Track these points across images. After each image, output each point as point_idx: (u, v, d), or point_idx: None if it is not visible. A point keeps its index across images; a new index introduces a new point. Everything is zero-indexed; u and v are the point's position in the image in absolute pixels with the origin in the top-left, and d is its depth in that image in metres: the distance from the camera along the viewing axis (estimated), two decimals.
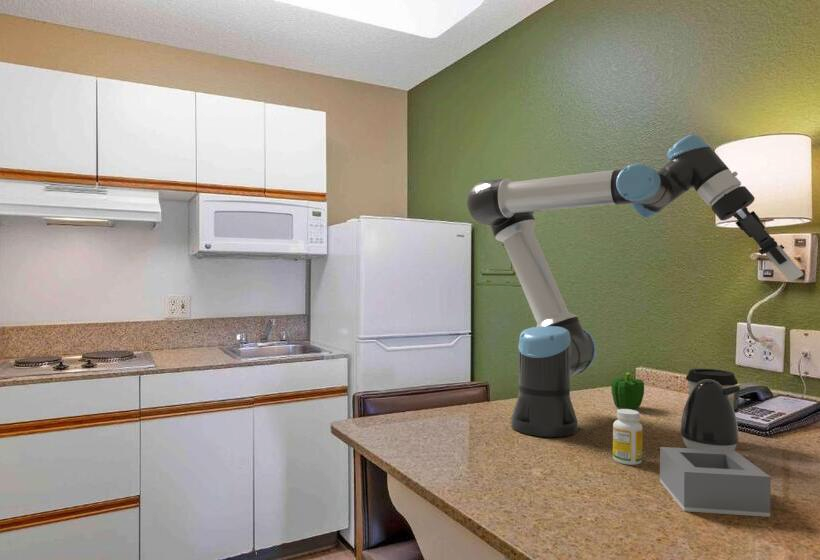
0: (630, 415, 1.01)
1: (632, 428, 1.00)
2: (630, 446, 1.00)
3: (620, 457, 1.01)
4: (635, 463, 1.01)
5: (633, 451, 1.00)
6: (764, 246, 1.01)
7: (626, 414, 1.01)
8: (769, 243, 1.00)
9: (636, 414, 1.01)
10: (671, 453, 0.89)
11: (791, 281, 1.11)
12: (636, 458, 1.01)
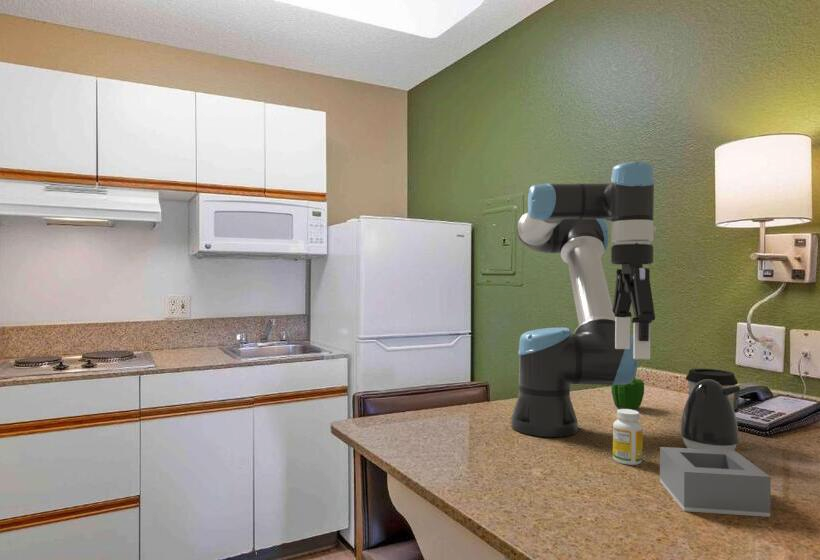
0: (630, 415, 1.01)
1: (632, 428, 1.00)
2: (630, 446, 1.00)
3: (620, 457, 1.01)
4: (635, 463, 1.01)
5: (633, 451, 1.00)
6: (643, 318, 0.93)
7: (626, 414, 1.01)
8: (649, 318, 0.93)
9: (636, 414, 1.01)
10: (671, 453, 0.89)
11: (617, 348, 1.09)
12: (636, 458, 1.01)
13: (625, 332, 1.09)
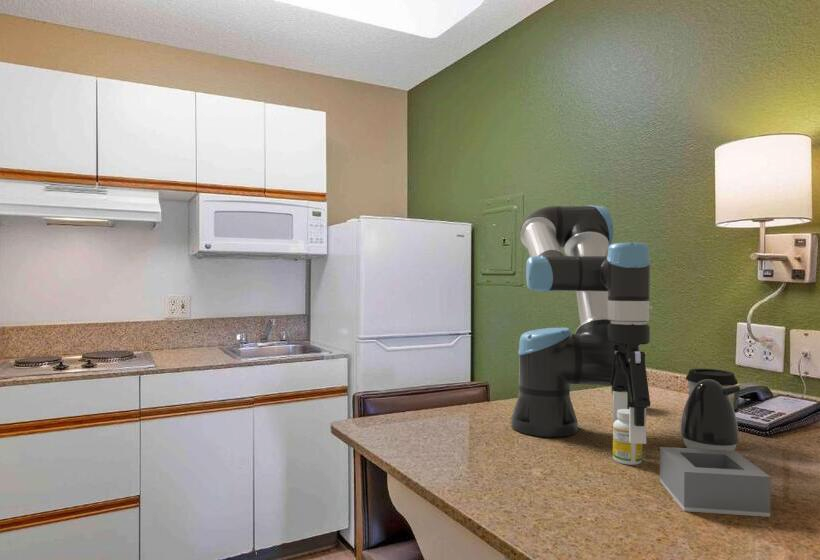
0: None
1: None
2: (630, 446, 1.00)
3: (620, 457, 1.01)
4: (635, 463, 1.01)
5: (633, 451, 1.00)
6: (638, 405, 0.93)
7: (626, 414, 1.01)
8: (644, 405, 0.93)
9: None
10: (671, 453, 0.89)
11: None
12: (636, 458, 1.01)
13: (622, 407, 1.09)
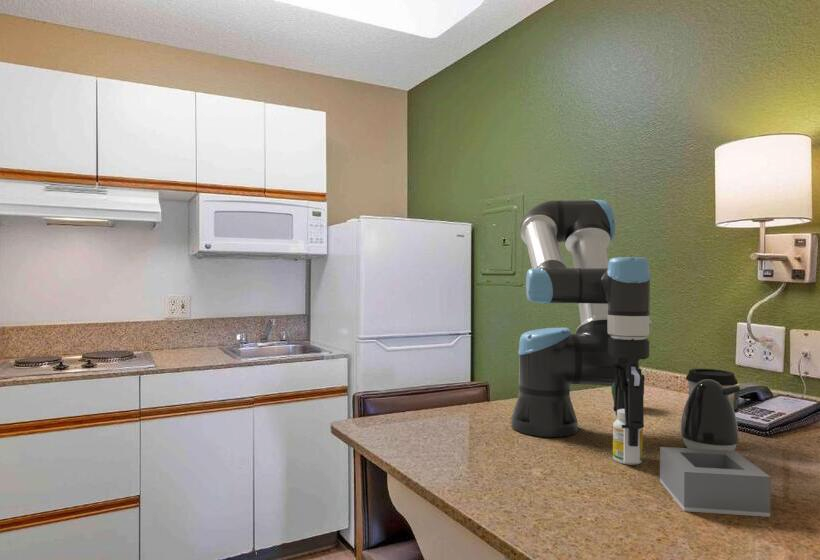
0: None
1: None
2: None
3: (620, 457, 1.01)
4: (635, 463, 1.01)
5: None
6: (632, 426, 0.97)
7: None
8: (637, 427, 0.97)
9: None
10: (671, 453, 0.89)
11: None
12: None
13: None
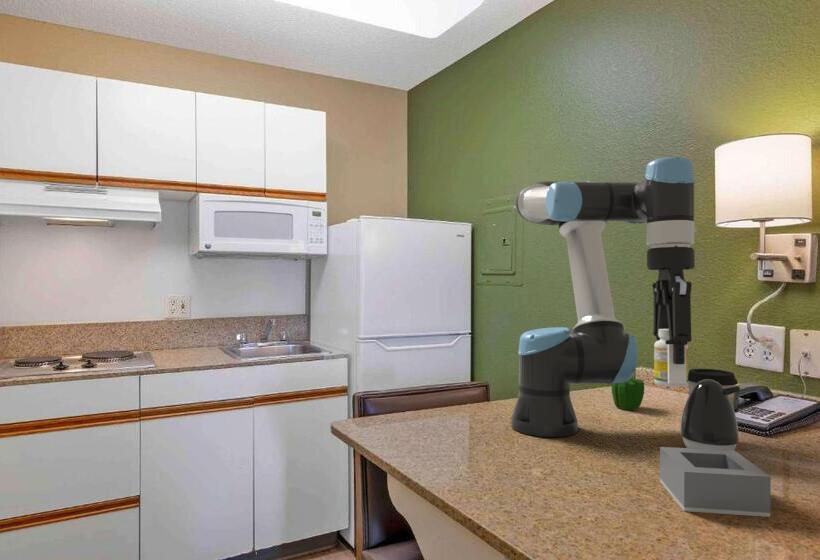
0: None
1: None
2: None
3: (663, 378, 0.91)
4: (681, 385, 0.90)
5: None
6: (678, 340, 0.87)
7: None
8: (684, 341, 0.87)
9: None
10: (671, 453, 0.89)
11: None
12: None
13: None
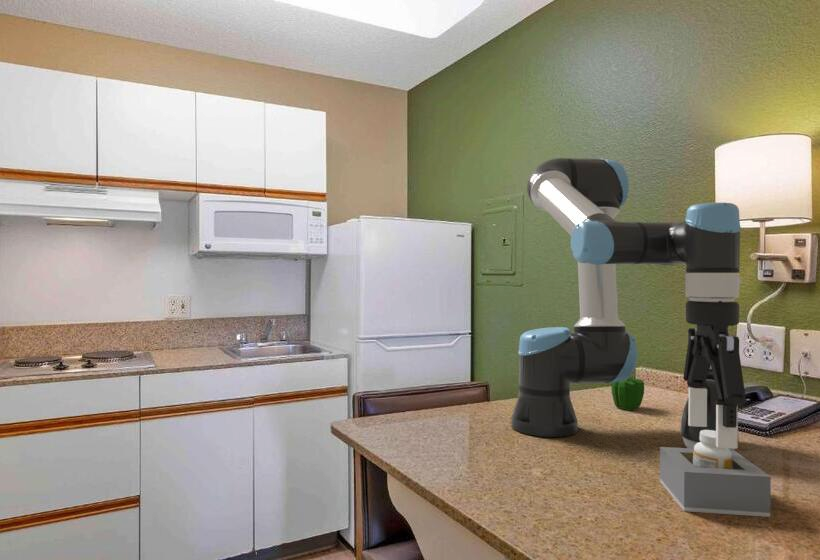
0: None
1: (720, 455, 0.83)
2: None
3: None
4: None
5: None
6: (731, 402, 0.77)
7: (713, 438, 0.84)
8: (738, 402, 0.77)
9: None
10: (671, 453, 0.89)
11: None
12: None
13: (701, 406, 0.91)
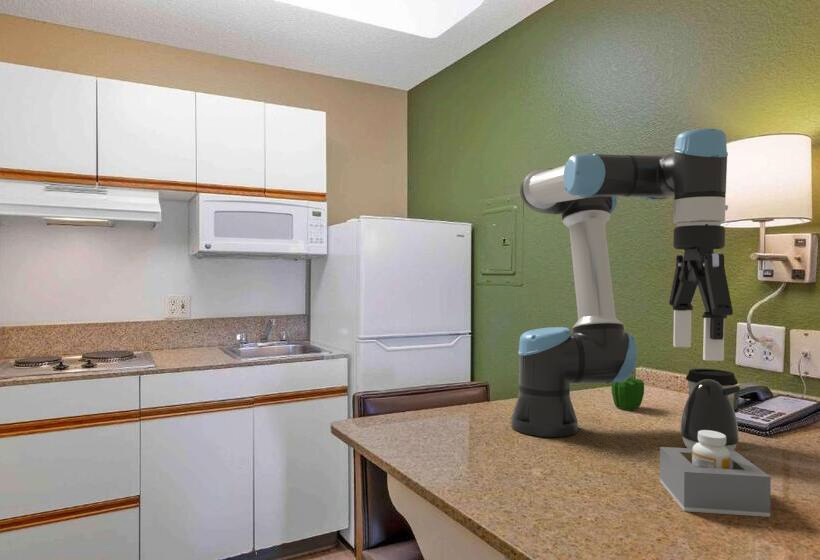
0: (715, 439, 0.84)
1: (718, 454, 0.84)
2: None
3: None
4: None
5: None
6: (718, 313, 0.79)
7: (710, 438, 0.84)
8: (725, 313, 0.79)
9: (722, 438, 0.84)
10: (671, 453, 0.89)
11: (675, 346, 0.95)
12: None
13: (685, 328, 0.95)
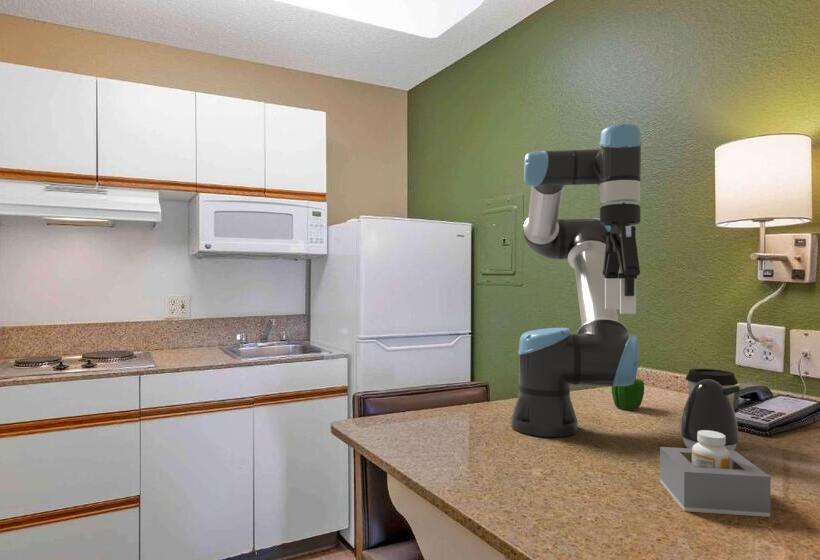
0: (714, 439, 0.84)
1: (717, 454, 0.84)
2: None
3: None
4: None
5: None
6: (628, 273, 0.96)
7: (709, 437, 0.85)
8: (634, 273, 0.96)
9: (722, 438, 0.84)
10: (671, 453, 0.89)
11: (606, 309, 1.13)
12: None
13: (614, 293, 1.12)
